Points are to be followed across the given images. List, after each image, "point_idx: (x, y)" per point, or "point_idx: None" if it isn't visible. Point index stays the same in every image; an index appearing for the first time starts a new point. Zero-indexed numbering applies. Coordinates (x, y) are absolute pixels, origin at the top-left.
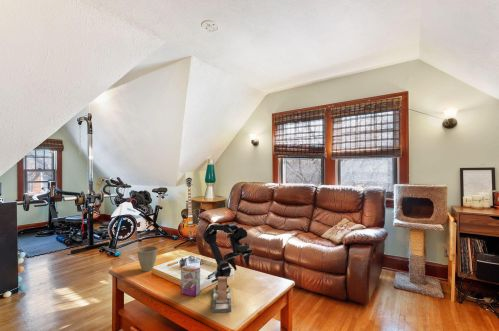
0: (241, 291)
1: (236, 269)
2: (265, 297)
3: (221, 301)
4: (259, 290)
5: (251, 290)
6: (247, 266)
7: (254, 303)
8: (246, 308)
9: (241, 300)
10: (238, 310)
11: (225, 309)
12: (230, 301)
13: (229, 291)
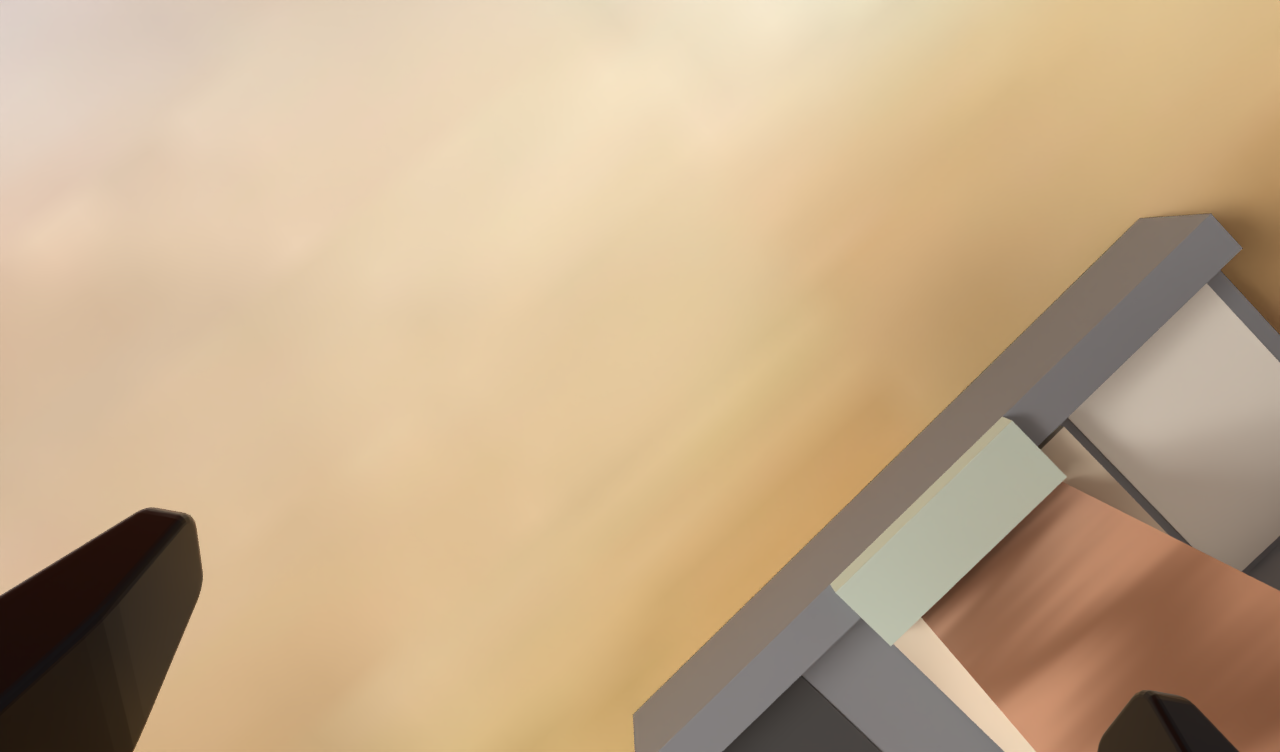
0: (401, 605)
1: (1174, 711)
2: (240, 16)
3: (1156, 526)
4: (80, 329)
5: (211, 469)
6: (183, 604)
7: (607, 48)
8: (867, 53)
9: (692, 346)
10: (1023, 131)
11: (1239, 298)
12: (1087, 348)
13: (759, 685)
